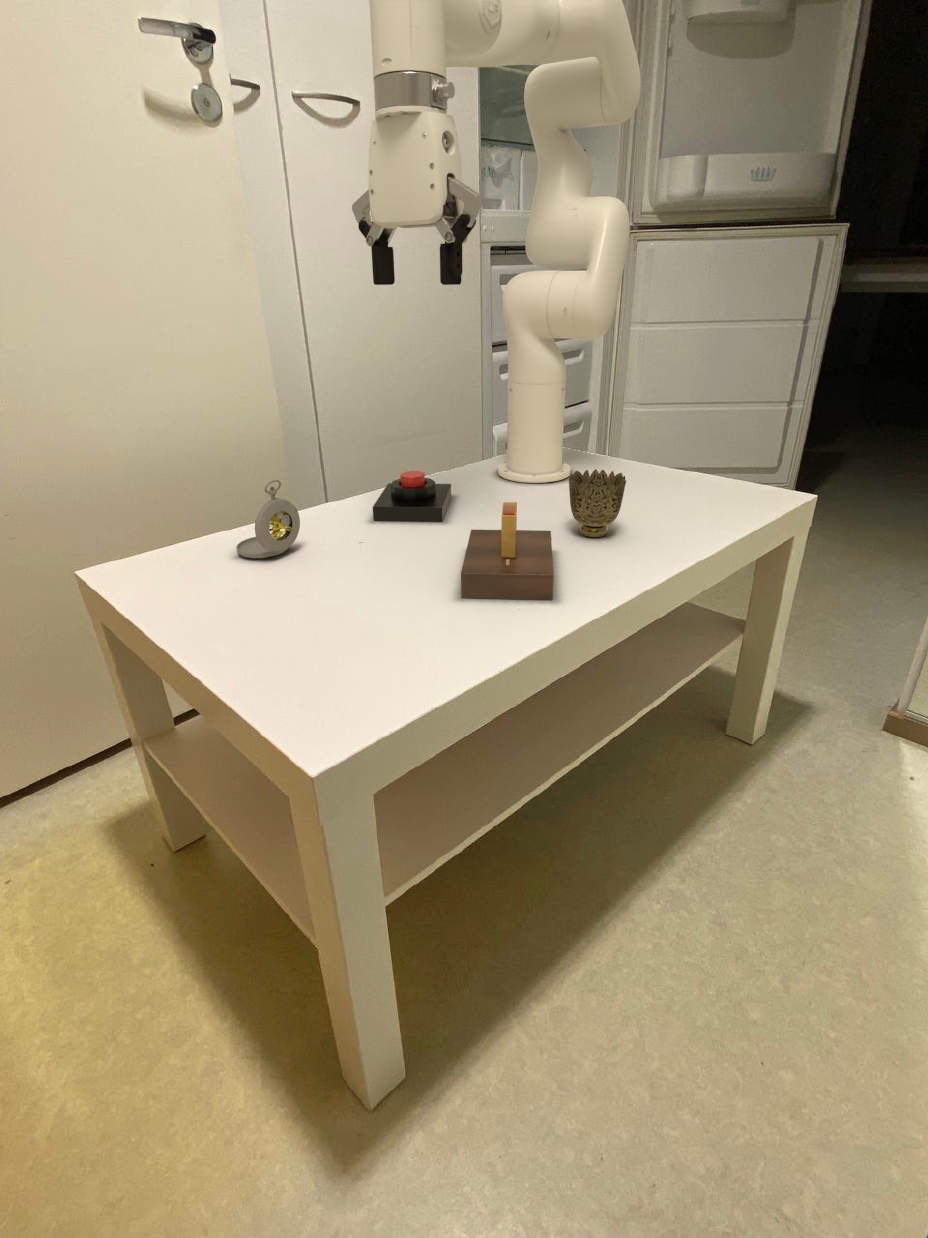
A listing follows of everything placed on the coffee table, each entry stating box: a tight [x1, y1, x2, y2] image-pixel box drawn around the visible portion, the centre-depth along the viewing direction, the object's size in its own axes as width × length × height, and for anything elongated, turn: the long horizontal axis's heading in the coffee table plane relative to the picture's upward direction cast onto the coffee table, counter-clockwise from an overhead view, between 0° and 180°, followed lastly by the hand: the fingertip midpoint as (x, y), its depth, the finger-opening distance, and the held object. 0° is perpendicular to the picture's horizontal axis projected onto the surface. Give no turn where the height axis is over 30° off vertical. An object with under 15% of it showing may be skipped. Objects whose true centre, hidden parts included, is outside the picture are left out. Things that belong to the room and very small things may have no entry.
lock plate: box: [460, 529, 554, 601], centre depth 83 cm, size 14×10×3 cm
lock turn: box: [500, 501, 518, 558], centre depth 81 cm, size 5×2×5 cm, turn 175°
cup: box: [568, 469, 627, 538], centre depth 93 cm, size 8×7×8 cm
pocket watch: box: [235, 479, 301, 559], centre depth 88 cm, size 8×8×10 cm
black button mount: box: [372, 477, 452, 523], centre depth 105 cm, size 12×10×4 cm
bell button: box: [399, 470, 426, 487], centre depth 104 cm, size 4×4×2 cm
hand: (416, 284), depth 81 cm, fingers open, 9 cm apart
